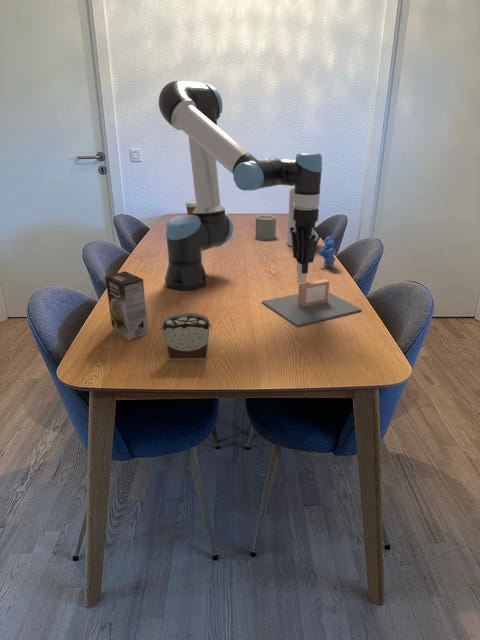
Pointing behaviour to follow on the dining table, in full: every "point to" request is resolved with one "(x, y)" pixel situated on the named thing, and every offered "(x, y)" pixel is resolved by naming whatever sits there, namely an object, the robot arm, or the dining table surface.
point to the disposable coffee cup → (190, 207)
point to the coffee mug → (265, 227)
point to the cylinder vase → (291, 216)
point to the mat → (310, 309)
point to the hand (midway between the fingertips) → (301, 281)
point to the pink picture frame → (313, 293)
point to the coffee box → (127, 304)
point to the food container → (186, 336)
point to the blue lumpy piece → (328, 251)
